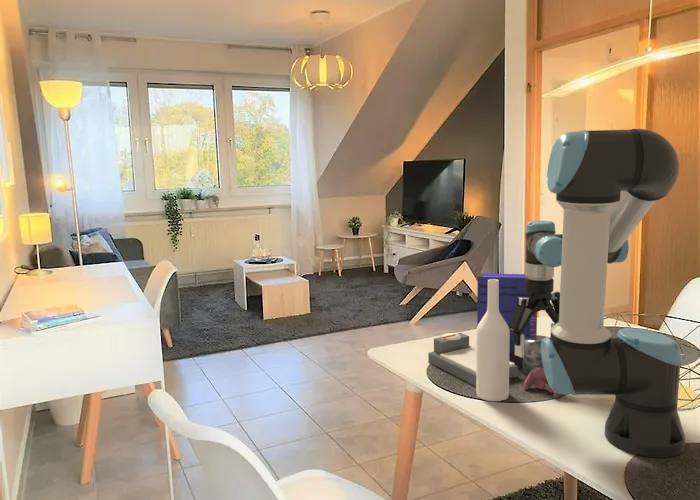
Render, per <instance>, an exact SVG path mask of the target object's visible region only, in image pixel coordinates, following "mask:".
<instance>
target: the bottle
mask: <svg viewBox="0 0 700 500" xmlns="http://www.w3.org/2000/svg"><path fill="white" fill-rule="evenodd" d="M476 326H477V325H476ZM475 335H476V338H475V339H476V340H475V341H476V344H475V345H476V346H475V347H476V386H475V387H476V388H475V390H476V391H475V392H476V393H475V394H476V396H477V398H479V399H482V400H483V401H488V402H502V400H503V401H505V400H507V399H508V398H509V396H510V379H509V361H510V353H509V344H510V331H509V327H508V325H507V323H506V322H505V320H504V319H503V317H502V315H501V314H500V312H499V280H497V279H489V280H488V306H487V312H486V314H485V315H484V317H483V318H482V319H481V321H480V323H479V324H478V326H477V327H476V334H475Z"/></svg>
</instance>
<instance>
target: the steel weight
mask: <svg viewBox="0 0 700 500" xmlns="http://www.w3.org/2000/svg"><path fill="white" fill-rule="evenodd" d="M546 337H547V336H546V335H540V334H537V335H530V336H526V337H524V357H523V358H522V371H523V372H524V373H525V372H526V373H525V374H527V373H528V374H527V375H529V373H530V372H531V371H532V370H533V369H534V368H544V367H543V362H542V356H541V343H542V342H541V341H542V339H543V338H546Z"/></svg>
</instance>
